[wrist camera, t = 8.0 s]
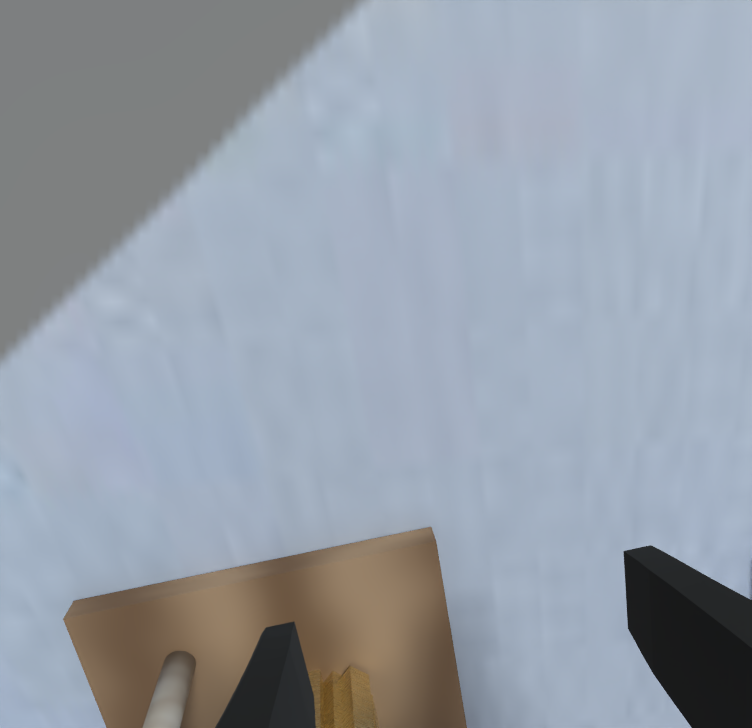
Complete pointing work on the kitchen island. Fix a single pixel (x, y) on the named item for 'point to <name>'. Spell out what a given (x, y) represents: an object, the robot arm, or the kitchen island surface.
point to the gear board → (269, 608)
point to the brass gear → (343, 700)
